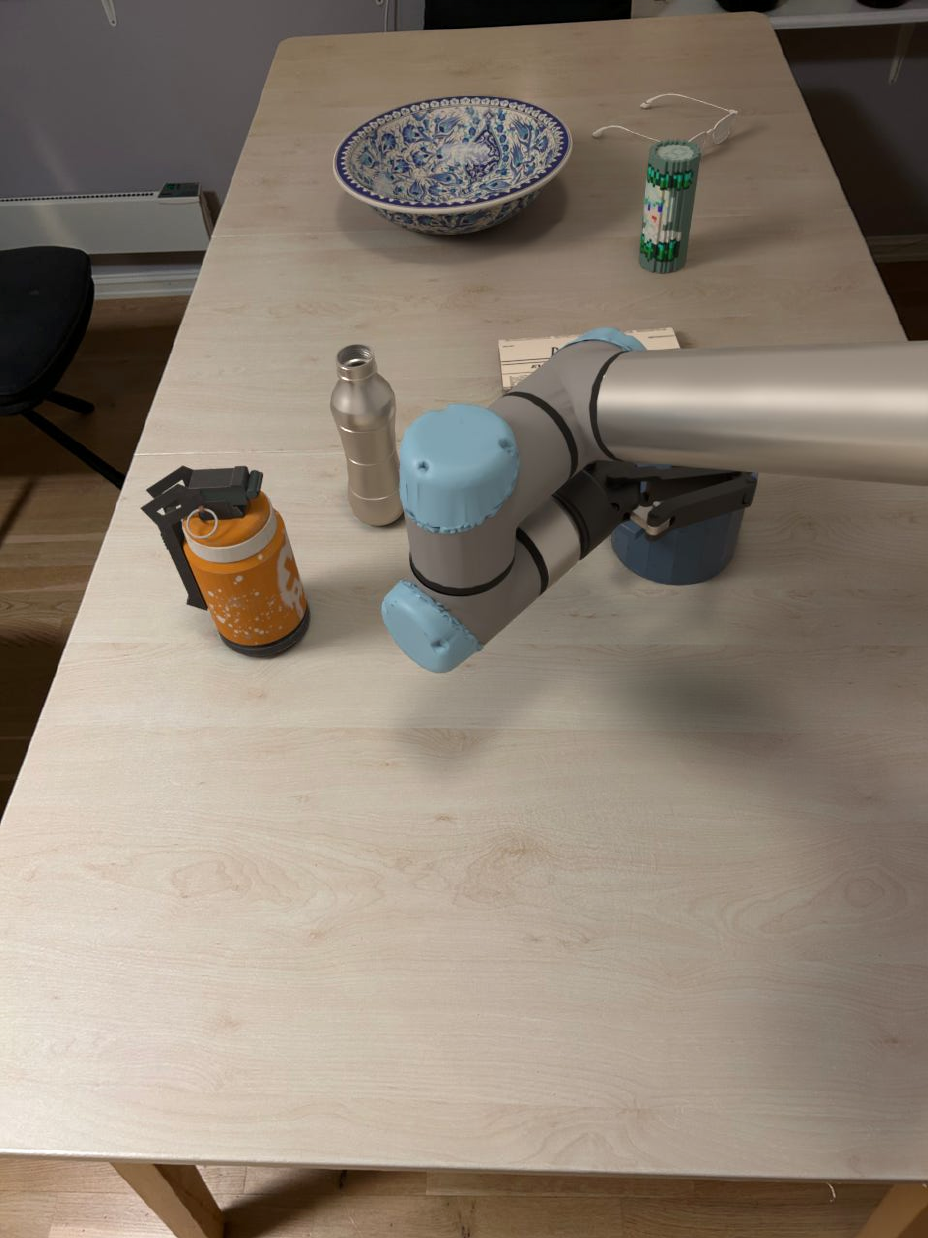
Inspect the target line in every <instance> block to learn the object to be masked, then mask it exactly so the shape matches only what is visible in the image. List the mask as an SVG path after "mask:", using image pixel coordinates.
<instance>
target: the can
mask: <svg viewBox="0 0 928 1238" xmlns="http://www.w3.org/2000/svg"><path fill="white" fill-rule="evenodd" d="M659 141H660V142H658V141H657V142H656V143H654V144H653V145H651V146H650V148H649V149H648V160H647V171H646V181H645V192H644V200H643V209H642V219H641V220H642V221H641V230H640V231H641V232H640V241H639V251H638V264H639V265H641V268H643V269H645V270H646V271H648V272H651V273H657V274H665V273H666V274H670V273H671V272H673V273H675V272H677V271H678V270H680V269H681V268H684V267H685V264H686V262H687V254H688V248H689V241H690V236H691V235H690V233H691V227H692V221H693V220H692V219H693V214H694V213H693V212H694V206H695V198H696V191H697V183H698V177H699V170H700V163H701V155H702V152H700V151H701V150H700V148H699V147H697V144H694V143H691V142H689V140H686V139H684V140H681V139H678V138H677V139H675V138H674V139H673V138H672V139H666V140H659Z"/></svg>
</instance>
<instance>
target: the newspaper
mask: <svg viewBox="0 0 928 1238" xmlns="http://www.w3.org/2000/svg"><path fill="white" fill-rule="evenodd" d="M620 332H622V333H624V334H626V335H631V336H634V337H635V338H636V339H637V340H639V341H640V342H641V343H642V344H643V345H644V346H645V348H646V349H647V350H665V349H681V346H680V344H679V341H678V339H677V336H676V334H675V331H674V329H673V327H659V328H658V327H657V328H645V329H644V328H643V329H632V330H620ZM584 334H585V333H577V334H564V335H562V334H561V335H550V336H549V335H548V336H536V337H535V336H534V337H523V338H511V339H509V338H508V339H498V340H497V344H498V345H497V346H498V351H499V359H500V368H501V378H502V379H501V380H502V381H501V382H502V390H503V391H510V390H511V389H513V388H514V387H515V386H516V385H518V384H519V383H520V382H521V381H523V380H524V379H525V378H526V377H527V376H529V375H530V374H531V373H532V372H534V371H535V370H536V369H537V368H539V367H540V366H541V365H542V364H544V363H545V362H546V361H547V360H549V359H550V357H551V356H552V355H553V354H554V353H555V352H556V351H557V350H558V349H560V348H562V347H563V346H564V345H566V344H567V343H569V342H571V341H574V340H576V339H577V338H579V337H580V336H582V335H584Z"/></svg>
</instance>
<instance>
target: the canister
mask: <svg viewBox="0 0 928 1238" xmlns="http://www.w3.org/2000/svg"><path fill="white" fill-rule="evenodd" d="M263 479H264V473H263V471H259V470H257V469H252V470H250V471H249V467H248V466H246V465H235V466H234V467H221V468H219V467H218V468H200V469H194V468H191V467H188V466H185V465H181V466H179V467H178V468H177V469H175V470H174V471H172V472H170V473H169V474H168V475H166V476H164V477H163V478H161V479H160V480H158V481H157V482H155V483H153V484H152V485H151V486H149V487H147V488H146V489H145V491H146V493H147V494H148V495H149V496H150V497H151V498H152V500H150V501H148V502H146V503H145V504H143V505H142V506H141V507H139V508H140V510H141V511H142V512H143V513H144V514H145V515H146V516H147V517H148V518H149V519H150V520H151V521H152V523H154V524H155V525H156V526H157V528H158V530H159V532H160V537H161V540H162V542H163V544H164V547H165V548H166V549H165V550H167V551H168V553H169V555H170V557H171V559H172V562H173V564H174V566H175V568H176V570H177V573H178V576H179V577H180V580H181V583H182V584H183V587H184V589H185V591H186V593H187V599H186V604H185V605H186V606H189V607H193V608H196V609H200V610H203V611H206V612H208V611H209V613H210V616H211V618H212V620H213V623H214V625H215V627H216V629H217V632H218V635H219V637H220V639H221V640H222V642H223V644H225V646H226V647H227V648H229V649H230V650H231V651H233V652H235V653H237V654H240V655H243V656H248V657H265V656H271V655H274V654H277V653H280V652H282V651H284V650H286V649H288V648H289V647H290V646H292V645H293V644H295V643H297V641H298V640H299V639H300V638H301V637H302V636H303V634H304V633H305V631H306V630H307V628H308V625H309V622H310V613H311V612H310V606H309V603H308V600H307V596H306V592H305V589H304V585H303V583H302V580H301V575H300V573H299V572H300V571H299V569H298V565H297V562H296V558H295V554H294V552H293V548H292V545H291V542H290V538H289V534H288V531H287V528H286V523H285V521H284V519H283V516H282V515H281V514H280V512H279V511H278V510H276V508H274V507H273V504H272V501H271V499H270V498H269V496H268V495H267V494H266V493H265V492H264V491H262V485H263ZM181 481H182V482H183V484H180V483H179V482H181ZM179 506H180V507H179ZM161 509H162V511H163V512H164V514H161V513H160V512H159V511H160V510H161Z"/></svg>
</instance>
